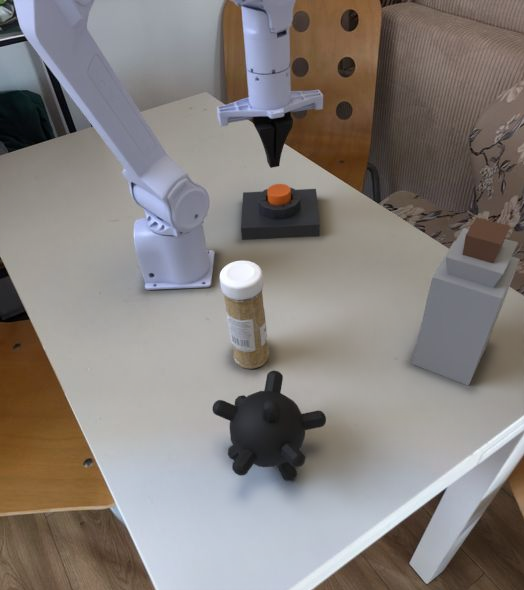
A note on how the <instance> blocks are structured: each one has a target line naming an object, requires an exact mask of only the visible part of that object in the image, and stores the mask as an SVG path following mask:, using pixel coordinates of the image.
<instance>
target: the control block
mask: <svg viewBox="0 0 524 590" xmlns="http://www.w3.org/2000/svg"><path fill="white" fill-rule="evenodd" d="M290 189H291V201H290V202H289V203H287V204H284V205H273V204H269V202H268V195H267V190H268V188H266V189H264V190H261V191H247V192H246V191H245V192H242V202H241V203H242V204H241V219H240V220H241V221H240V222H241V223H240V233H241V240H242V241H247V240H265V239H266V240H267V239H269V240H270V239H288V238H289V239H290V238H309V237H310V238H311V237H321V235H320V234H321V231H320V230H321V223H320V214H319V205H318V194H317V189H316V188H302V189H295V188H293V187H290Z"/></svg>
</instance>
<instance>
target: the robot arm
mask: <svg viewBox="0 0 524 590" xmlns="http://www.w3.org/2000/svg"><path fill="white" fill-rule="evenodd" d="M95 1H96V0H13V1H12V2H13V5H14V9H15V13H16V17H17V21H18V25H19V28H20V31H21V32H22V34H23V36H24V38H26V40H27V41H28V43H29V44H30V45H31V46H32V48H33V49H34V51H35V52H36V53H37V54H38V56H39V57H40V58H41V60H42V61H43V62H44V65H46V66H47V68H48V69H49V70H50V72H51V73H52V74H53V76H54V77H55V78H56V79H57V82H59V84H60V85H61V87H62V88H63V89H64V90H65V91H66V93H67V94H68V95H69V97H70V98H71V99H72V101H73V102H74V103H75V105H76V106H77V107H78V109H79V110H80V111H81V113H82V114H83V115H84V117H85V118H86V119H87V121H88V122H89V123H90V125H91V126H92V127H93V129H94V130H95V131H96V132H97V134H98V135H99V136H100V138H101V140H103V142H104V144H106V146H107V147H108V148H109V150H110V151H111V152H112V154H113V155H114V156H115V158H116V159H117V160H118V162H119V163H120V164H121V166H122V167H123V169H122V172H121V174H122V175H123V177H124V178H125V180H126V182H127V184H128V187H129V193H130V196H131V198H132V200H133V202H134V203H135V204H136V205H138V206H139V207H141V208H142V209H143V212H144V215H145V217H141V218H138V219H136V220H135V222H134V224H133V245H134V250H135V254H136V257H137V260H138V264H139V266H140V270H141V273H142V276H143V280H144V283H145V284H144V289H145V290H148V291H149V290H153V291H155V290H175V289H177V290H178V289H197V288H198V289H199V288H201V289H202V288H210V287H211V286H212V280H213V271H214V264H215V255H216V254H215V251H214V249H213V250H212V249H210V250H208V246H207V240H206V234H205V230H204V229H205V228H204V223H205V219H206V218H207V216H208V214H209V210H210V201H211V200H210V195H209V192H208V191H207V189H206V188H205V187H204V186H203V185H201V184H199V183H197V182H195V181H194V180H192V178H191V177H190V175H189V173H188V172H187V171H186V170H184V168H183V167H182V166H180V165H179V163H177V162H176V161H175V160H174V159H173V158H172V157H171V156H170V155H169V154H168V153H167V152H166V150H165V149H164V147H163V146H162V144H161V142H160V141H159V138H157V136H156V134H155V132H154V131H153V130H152V128H151V126H150V125H149V123H148V122H147V120H146V119H145V117H144V115H143V114H142V112H141V111H140V109H139V108H138V106H137V105H136V103H135V102H134V100H133V98H132V97H131V95H130V94H129V92H128V90H127V89H126V87H125V86H124V84H123V82H122V81H121V80H120V78H119V76H118V75H117V74H116V72H115V71H114V69H113V67H112V66H111V64H110V62H109V61H108V59H107V57H106V56H105V55H104V53H103V51H102V49H101V48H100V47H99V45H98V44H97V42H96V41H95V39H94V38H93V36H92V34H91V32H90V31H89V28H88V20H89V16H90V12H91V10H92V7H93V5H94V3H95ZM229 1H230V2H233V3H234V4H235V6H237V7H238V8H241V21H242V31H243V43H244V44H243V45H244V54H245V55H244V57H245V68H246V69H245V70H246V82H247V93H248V97H244V98H242V99H238V100H236V101H233V102H230V103H227V104H224V105H219V106H218V105H217V106H216V115H217V120H218V123H219V126H220V127H226V126H228V125H229V124H231V123H237V122H243V121H248V120H249V121H250V120H251V122H252V125H253V126H254V128H255V130H256V132H257V133H258V136H259V138H260V140H261V143H262V146H263V149H264V152H265V156H266V162H267V165H268V166H269V168H271V169H272V168H278V167H280V162H281V158H282V153H283V149H284V146H285V143H286V141H287V138H288V136H289V135H290V132H291V131H292V129H293V126H294V119H293V116H292V113H295V112H296V113H297V112H301V111H307V110H313V109H314V110H315V111H319V110H323V109H324V94H323V93H322V92H321V90H320V89H314V90H313V89H312V90H292V85H291V82H292V81H291V80H292V79H291V38H290V37H291V35H290V32H291V31H290V28H291V27H292V22H293V21H294V8H295V7H294V6H295V3H296V2H297V0H229Z"/></svg>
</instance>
